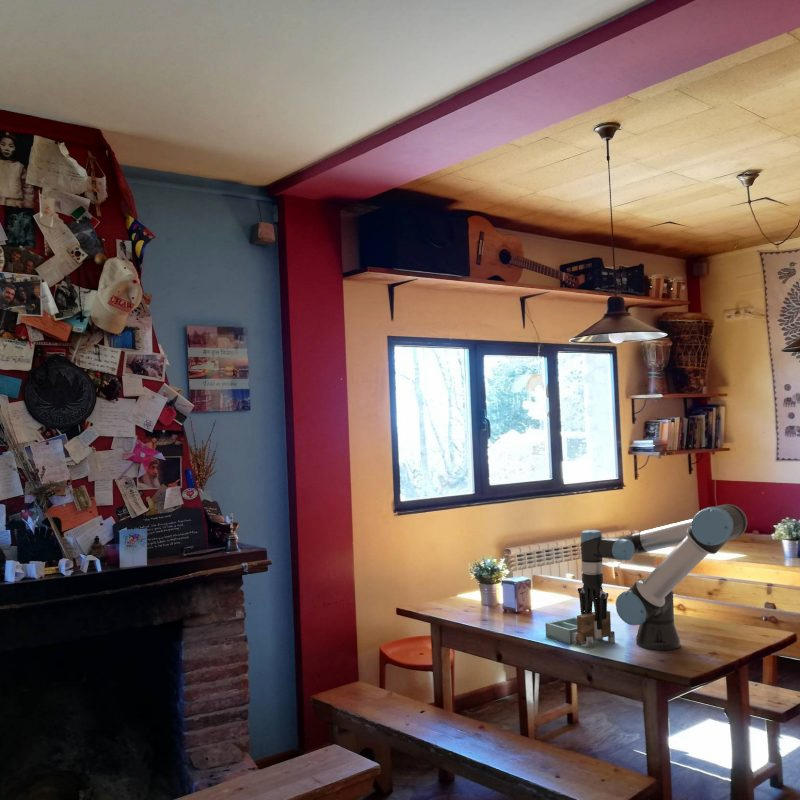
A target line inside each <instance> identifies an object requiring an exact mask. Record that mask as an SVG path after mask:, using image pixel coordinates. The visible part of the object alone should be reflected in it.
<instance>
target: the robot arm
mask: <svg viewBox="0 0 800 800" xmlns="http://www.w3.org/2000/svg"><path fill="white" fill-rule="evenodd" d="M747 526H748V518H747V516H746V513H745V512H744V511H743V510H742V509H741V508H740V507H738V506H737V505H735V504H729V503H725V504H720V505H715V506H708V507H705V508H703V509H701V510H699V511H698V512H697V513H695V515H694V516H693V518H690V519H687V520H683V521H679V522H675V523H670V524H666V525H663V526H658V527H655V528H650V529H646V530H643V531H639V532H633V533H629V534H627V535H622V536H617V537H606V536H603V535H602V531H601V530H598V529H585V530H582V531H581V533H580V553H581V555H580V556H581V572H582V573H581V582H582V584H583V585H582V587H578V588H577V593H578V596H579V597H578V598H579V606H580V607H579V608H580V615H582V614H587V613H591V612H593V610H594V612H595V617H596V619H595V620H594V634H595V639H596V640H597V639H598V638H601V629H602V620H604V619H606V618H607V611H608V598H609V596H610V595H609V593H608V592H605V591H604V589H603V584H604V574H603V570H604V569H603V559H608V560H609V559H610V560H616V561H627V562H628V561H631V560H632V558H633V557H634V556H635V555H636V556H637V555H639V554H644V553H648V552H651V551H656V550H661V549H665V548H670V547H674V546H676V547H674V549H673V550H672V551H671V552H670V553H669V554H668V555H667V556H666V557H665V558H664V559H663V560H662V561H661V562H660V563H659V564H658V565H657V567H656V568H654V570H652V572H650V574H649V575H647V577H646V578H639V579H638V580H636V582H634V584H633V585H632V586H631V587H630V588H629V589H627V590H626V591H622V592H621V593H619V595H618V596H617V597H616V600H615V610H616V613H617V616H619V618H620V619H621V620H622V621H623V622H624V623H625V624H627V625H630V626H639V627H638V630H637V635H636V637H635V638H636V639H635V642H636V643H635V644H636V645H637V646H638V647H641V648H643V649H646V650H647V649H648V650H653V651H654V650H655V651H671V650H676V649H679V648H680V647H681V639H680V637H679V634H678V632H677V628H676V625H675V613H674V612H675V611H674V589H675V588H676V586H678V585H679V584H680V583H681V582H682V581H683V579H685V578H686V577H687V576H688V575H689V574H690V573H691V571H693V570H694V569H695V567H697V566H698V565H699V563H701V562H702V561H703V560H704V559H705V558H706V557H707V556H708V555H715V554H717V553H718V552H719V551H720V550H721V548H723V546H725V545H726V544H727V543H728V542H730V541H732V540H736V539H738V538H740V537H741V536H742V535H744V534H745V531H746V530H747ZM593 608H594V609H593Z"/></svg>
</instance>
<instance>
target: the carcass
mask: <svg viewBox="0 0 800 800" xmlns="http://www.w3.org/2000/svg"><path fill="white" fill-rule="evenodd" d="M572 632H577V616H576V617H574V616H573V617H569V618H564V619H559V620H555V621H549V622H545V638H550V639H552V640H557V641H559V642H563V643H566V644H568V645H573V644H572V634H571V633H572Z"/></svg>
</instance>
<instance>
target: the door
mask: <svg viewBox="0 0 800 800" xmlns="http://www.w3.org/2000/svg"><path fill="white" fill-rule="evenodd" d="M576 618H577V634H578V641H581V643H586V637H588V636H593V641H594V640H597V639H595V634H594V620H595V619H596V617H595V611H592V612H591V613H587V614H582V615H581V614H579V615H576ZM611 625H612V623H611V610H607V618H606V619H604V620H602V629H601V638H603V639H604V638H608V632H609V631H612V626H611ZM598 639H600V638H598ZM600 640H601V639H600Z"/></svg>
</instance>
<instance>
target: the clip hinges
mask: <svg viewBox="0 0 800 800" xmlns="http://www.w3.org/2000/svg"><path fill="white" fill-rule="evenodd" d="M571 634H572V644H571V645H575V646H578V645H582V642H581V641H578V634H577V632H572V633H571ZM603 639H604V638H600V639H596V640H597V641H599V640H603ZM615 642H616V640H615V631H614V630H611V631H609V632H608V637H607V644H614V643H615ZM585 643H586V649H588V650H589V649H594V640H593V636H588V637H586V642H585Z"/></svg>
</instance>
